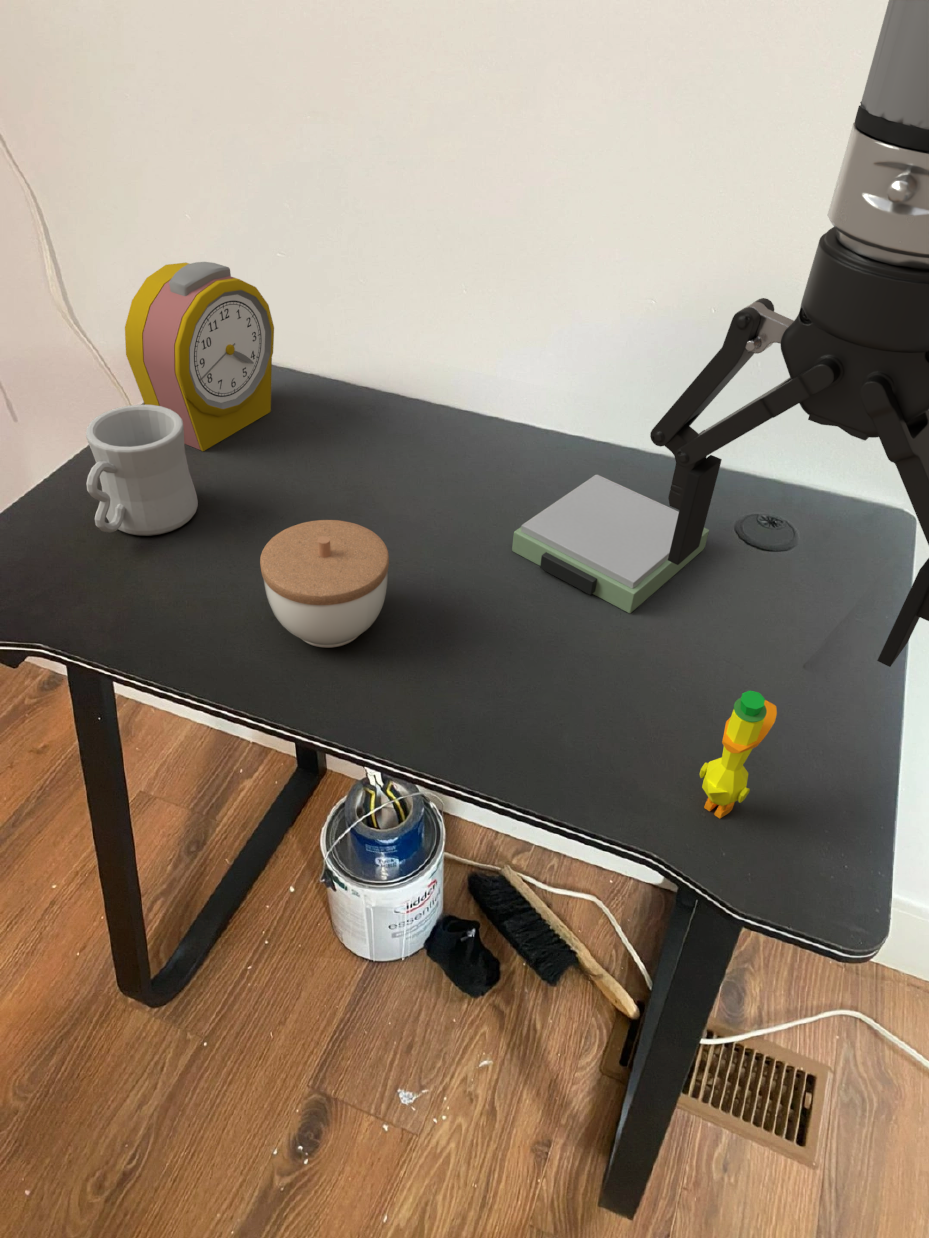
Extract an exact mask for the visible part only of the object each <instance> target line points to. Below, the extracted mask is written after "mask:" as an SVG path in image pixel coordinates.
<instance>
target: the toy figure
mask: <svg viewBox="0 0 929 1238" xmlns="http://www.w3.org/2000/svg"><path fill="white" fill-rule="evenodd" d="M777 709H778V708H777V705H775V704H774V703H772V702H771V701H768V700H767V699H766V698H765V697H764V696H763V695H762V693H760V692H758V691H754V690H747V691H745V692H742V693H741V697H740V698H739V697H738V698H737V699H736V701H734V704H733V709H732V712H731V715H730V717H729V718H728V719H727V720H726V721H725V726H724V731H723V737H722V739H721V740H722V741H721V744H722V745H723V749H722V754H721V757H718V758H716V759H713V760H710V761H709V762H704V764H702V766H701V767H700V771H699V778H700V779H703V781H702V786H701V788H702V790H703V791H704V794H706V796H707V798H706V801H705V804H704V806H703V808H704V809H705V810H707V811H708V812H711V811H713V810H714V809H715V808H716V807H717V808H716V810H715V811H714V813H713V815H714V816H715V817H717V818H718V819H719V820H720V819H722V818H724V817H725V816H726V815H728V814H730V813H731V812H732V810H733V809H734V806H735V803H736V802H738V803H740V804H741V803H743V801H745V799H747V796H748V795H749V793H750V791H751V789H750V788H748V787H747V786H748V779H749V773H750V772H748V770H747V769H746V767H745V766H744V764H745V763H746V762H747V760H748V758H749V756H750V754H751V753H752V751H753V749H754V748H757V747H758V746H759V745H761V742H763V740H764V739H765V738H766V737H767V735H768V734H769V732H770V731H771V729H772V727H773V726H774V724H775V722H776V718H777V716H778V711H777Z"/></svg>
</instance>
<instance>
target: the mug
mask: <svg viewBox="0 0 929 1238" xmlns="http://www.w3.org/2000/svg"><path fill="white" fill-rule="evenodd" d="M85 437H86V440H87V443H88V446H89V448H90V450H91V453H92V455H93V458H94V460H95V464H94V465H93V466H92V467H91V468H90V471H89V473H88V474H87V479H86V491H87V492H88V495H90V497H91V498H93V499H94V500H97V501H99V503H98V507H97V508H96V512H95V516H94V524H95V526H96V527H97V528H98V529H99V530H100V531H101V532H104V533H113V532H117V531H118V530H119V531H120V532H123V533H125V534H127V535H133V536H143V537H145V536H147V537H148V536H149V537H150V536H157V535H163V534H167V533H169V532H173V531H175V530H177V529H179V528H182V527H183V526H184V525H186V524H187V523H189V521H190V520H191V519H192V518H193V517H194V516H195V514H196V512H197V509H198V506H199V504H198V503H199V500H198V495H197V492H196V488H195V486H194V482H193V478H192V476H191V473H190V470H189V465H188V464H189V463H188V461H187V460H188V459H187V455H186V450H185V449H186V448H185V444H184V427H183V421H182V419H181V418H180V416H179V415H178V414H177V413H175V412H174V411H172V410H170V409H168V408H165V407H162V406H155V405H145V404H130V405H129V404H128V405H124V406H120V407H115V408H113V409H109V410H107V411H104V412H103V413H101V414H98V415H97V416H96V417H94V418H93V419H92V420H91V421H90V422H89V424H88V425H87V427H86V429H85ZM99 481H100V485H101V490H100V489H98V488H99V487H98V483H99ZM106 519H107V521H108V522H106Z"/></svg>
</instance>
